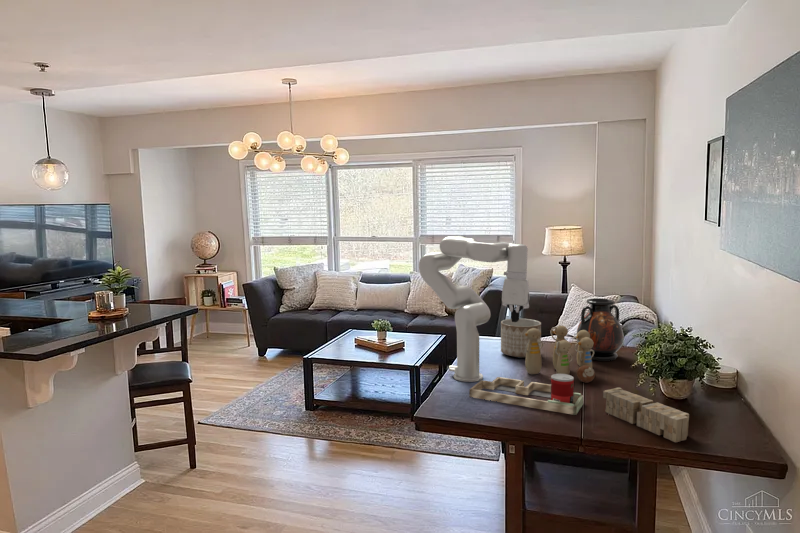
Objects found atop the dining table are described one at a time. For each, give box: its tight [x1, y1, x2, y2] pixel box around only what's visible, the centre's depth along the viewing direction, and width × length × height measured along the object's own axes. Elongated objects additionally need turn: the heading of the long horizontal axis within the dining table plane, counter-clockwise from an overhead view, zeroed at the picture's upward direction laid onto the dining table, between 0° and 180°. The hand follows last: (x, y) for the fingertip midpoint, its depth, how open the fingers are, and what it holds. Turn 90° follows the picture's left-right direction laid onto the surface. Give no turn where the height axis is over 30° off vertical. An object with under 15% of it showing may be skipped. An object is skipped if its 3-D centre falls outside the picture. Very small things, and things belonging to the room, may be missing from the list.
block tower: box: [602, 387, 690, 443], centre depth 178 cm, size 8×8×29 cm
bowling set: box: [524, 325, 596, 384], centre depth 232 cm, size 38×26×20 cm
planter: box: [500, 318, 542, 359], centre depth 265 cm, size 19×19×16 cm
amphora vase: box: [575, 297, 625, 362], centre depth 258 cm, size 22×22×28 cm
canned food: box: [550, 373, 575, 404], centre depth 195 cm, size 8×8×11 cm
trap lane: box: [468, 376, 585, 416], centre depth 205 cm, size 40×20×4 cm, turn 60°
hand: (514, 321), depth 212 cm, fingers closed
